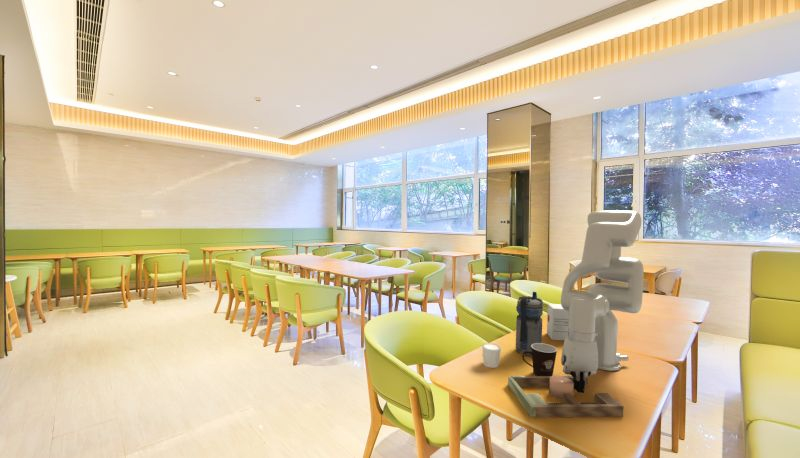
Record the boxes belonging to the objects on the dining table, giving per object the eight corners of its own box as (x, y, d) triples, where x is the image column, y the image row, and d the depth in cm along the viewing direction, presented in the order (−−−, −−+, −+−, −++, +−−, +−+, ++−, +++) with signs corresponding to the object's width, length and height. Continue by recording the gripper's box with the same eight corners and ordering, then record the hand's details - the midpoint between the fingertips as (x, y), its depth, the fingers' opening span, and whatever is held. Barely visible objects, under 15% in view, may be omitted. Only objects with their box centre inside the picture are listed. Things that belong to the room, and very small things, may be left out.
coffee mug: (554, 371, 127) (555, 345, 126) (557, 382, 119) (558, 354, 118) (521, 366, 131) (522, 340, 130) (521, 376, 123) (522, 349, 122)
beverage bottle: (508, 353, 143) (510, 294, 141) (522, 345, 152) (524, 289, 151) (532, 361, 136) (535, 298, 134) (545, 351, 145) (547, 293, 144)
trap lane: (585, 384, 118) (586, 375, 117) (623, 416, 99) (623, 405, 99) (507, 385, 116) (508, 375, 116) (531, 417, 98) (531, 406, 98)
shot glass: (500, 369, 128) (501, 351, 128) (482, 367, 129) (482, 349, 129) (499, 361, 135) (500, 344, 134) (481, 359, 136) (482, 342, 136)
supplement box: (546, 333, 168) (547, 303, 167) (565, 334, 167) (566, 304, 166) (551, 340, 159) (552, 308, 158) (572, 341, 158) (573, 309, 157)
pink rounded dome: (565, 388, 114) (566, 375, 114) (577, 400, 107) (578, 386, 107) (545, 388, 114) (545, 375, 114) (555, 400, 107) (556, 386, 107)
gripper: (596, 331, 114) (593, 384, 115) (552, 331, 113) (550, 385, 114) (611, 339, 107) (608, 396, 108) (564, 339, 106) (562, 397, 107)
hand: (578, 390), depth 111 cm, fingers closed
